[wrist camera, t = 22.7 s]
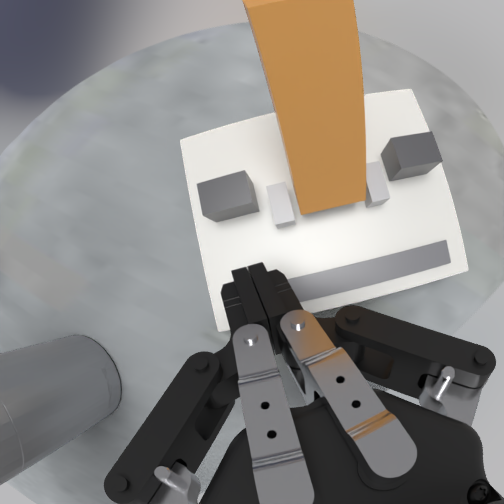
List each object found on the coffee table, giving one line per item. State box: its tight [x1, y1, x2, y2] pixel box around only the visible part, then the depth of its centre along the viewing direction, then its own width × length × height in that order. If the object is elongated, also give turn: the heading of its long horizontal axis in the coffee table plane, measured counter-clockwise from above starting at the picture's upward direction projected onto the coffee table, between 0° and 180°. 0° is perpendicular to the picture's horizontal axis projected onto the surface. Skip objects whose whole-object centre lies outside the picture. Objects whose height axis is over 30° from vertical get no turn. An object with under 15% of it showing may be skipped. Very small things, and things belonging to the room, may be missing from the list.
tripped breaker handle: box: [243, 0, 366, 215], centre depth 14 cm, size 4×2×13 cm
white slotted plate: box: [180, 89, 468, 332], centre depth 21 cm, size 18×14×8 cm
